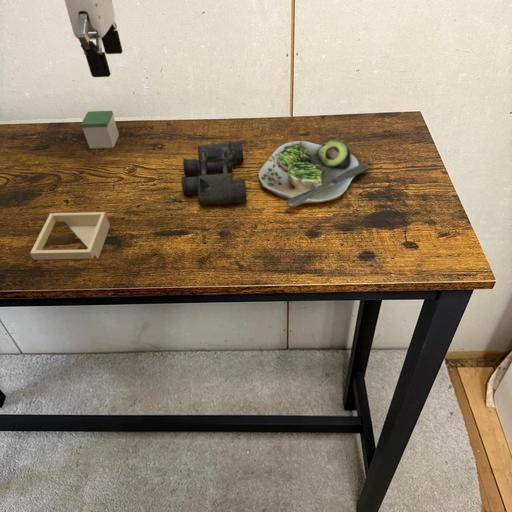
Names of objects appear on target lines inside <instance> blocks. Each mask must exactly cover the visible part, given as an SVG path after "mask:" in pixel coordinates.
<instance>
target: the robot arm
mask: <svg viewBox="0 0 512 512" xmlns="http://www.w3.org/2000/svg"><path fill="white" fill-rule="evenodd" d="M64 3H65V7H66V11H67V15H68V18H69V23H70V26H71V29H72V33H73V36H74V37H75V38H76V39H78V41H79V43H80V47H81V49H82V50H83V51H82V52H83V54H84V56H85V58H86V62H87V66H88V69H89V71H90V75H91V77H93V78H109V77H110V76H111V75H112V73H111V69H110V67H109V63H108V60H107V59H108V58H107V56H106V55H121V54H122V53H123V47H122V43H121V42H122V41H121V39H120V33H119V30H117V29H118V25H117V22H116V21H115V18H116V17H115V16H116V15H115V9H114V5H113V0H64ZM94 40H95V42H94ZM103 50H104V51H103Z"/></svg>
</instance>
